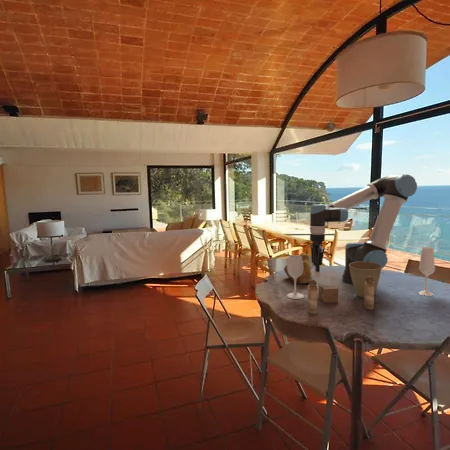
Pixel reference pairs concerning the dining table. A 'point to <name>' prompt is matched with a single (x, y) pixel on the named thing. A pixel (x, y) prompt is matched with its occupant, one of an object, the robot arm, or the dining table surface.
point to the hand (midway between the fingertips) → (316, 277)
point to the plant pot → (364, 275)
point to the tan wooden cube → (328, 293)
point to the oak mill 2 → (369, 293)
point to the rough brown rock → (306, 273)
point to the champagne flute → (427, 266)
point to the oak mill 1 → (312, 297)
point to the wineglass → (295, 273)
